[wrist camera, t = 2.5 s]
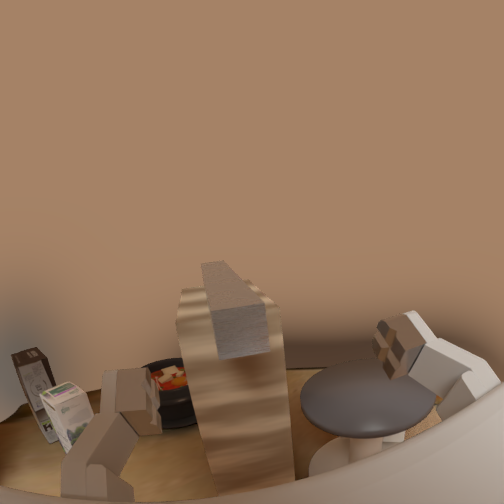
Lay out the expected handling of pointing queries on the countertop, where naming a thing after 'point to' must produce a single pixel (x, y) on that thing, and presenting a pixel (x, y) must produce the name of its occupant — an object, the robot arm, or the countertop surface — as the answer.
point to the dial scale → (361, 410)
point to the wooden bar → (234, 313)
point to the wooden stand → (238, 400)
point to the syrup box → (67, 412)
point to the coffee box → (36, 385)
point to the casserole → (173, 393)
